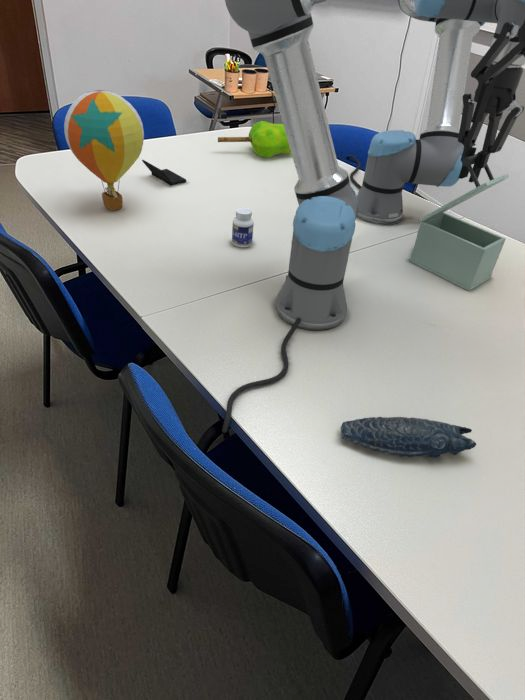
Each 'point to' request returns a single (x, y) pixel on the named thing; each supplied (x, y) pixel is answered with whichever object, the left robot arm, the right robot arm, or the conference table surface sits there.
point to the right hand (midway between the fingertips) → (468, 178)
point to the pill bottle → (242, 228)
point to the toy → (105, 138)
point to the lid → (479, 188)
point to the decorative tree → (264, 139)
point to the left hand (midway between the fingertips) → (509, 131)
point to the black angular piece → (165, 175)
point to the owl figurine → (407, 436)
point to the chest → (456, 250)
